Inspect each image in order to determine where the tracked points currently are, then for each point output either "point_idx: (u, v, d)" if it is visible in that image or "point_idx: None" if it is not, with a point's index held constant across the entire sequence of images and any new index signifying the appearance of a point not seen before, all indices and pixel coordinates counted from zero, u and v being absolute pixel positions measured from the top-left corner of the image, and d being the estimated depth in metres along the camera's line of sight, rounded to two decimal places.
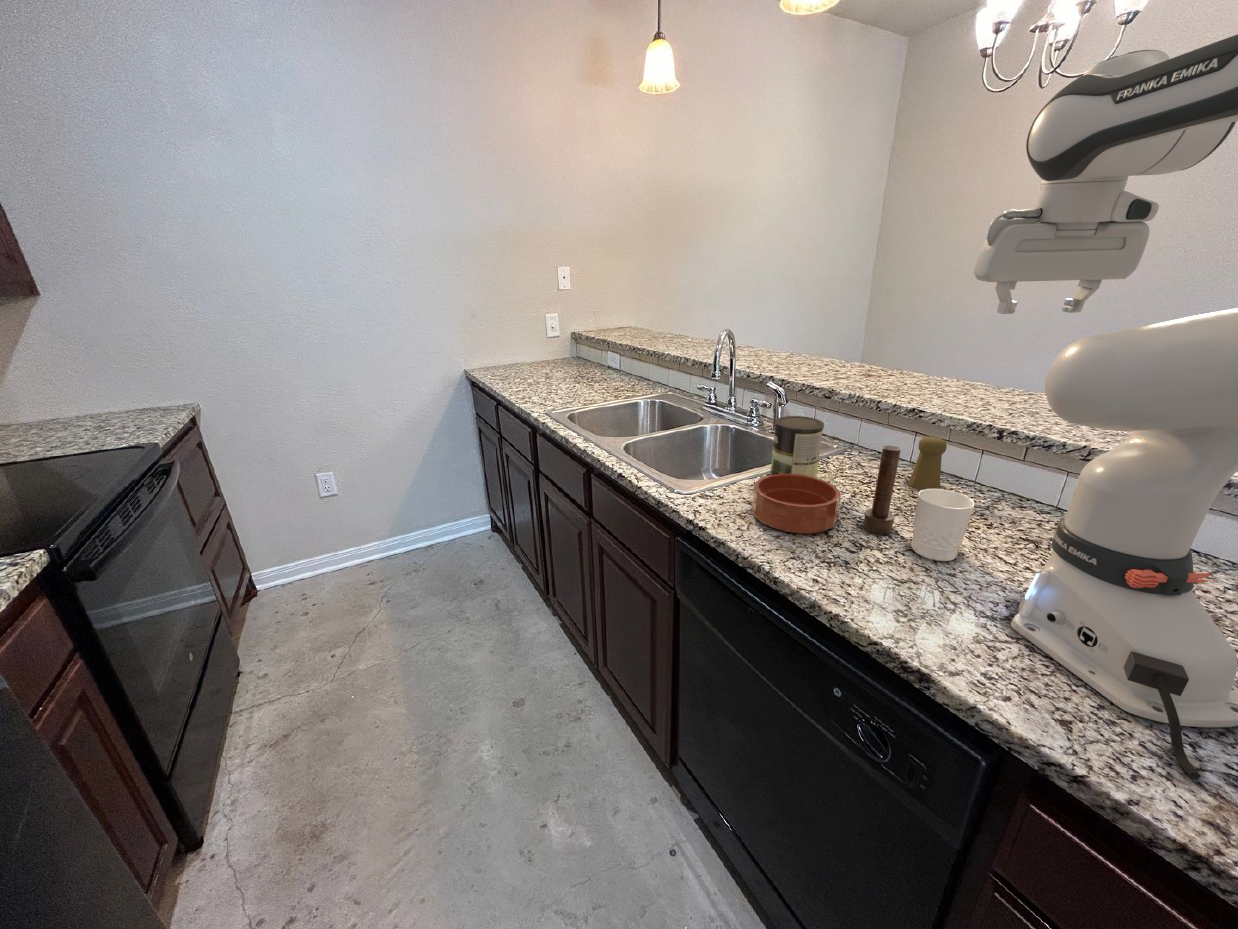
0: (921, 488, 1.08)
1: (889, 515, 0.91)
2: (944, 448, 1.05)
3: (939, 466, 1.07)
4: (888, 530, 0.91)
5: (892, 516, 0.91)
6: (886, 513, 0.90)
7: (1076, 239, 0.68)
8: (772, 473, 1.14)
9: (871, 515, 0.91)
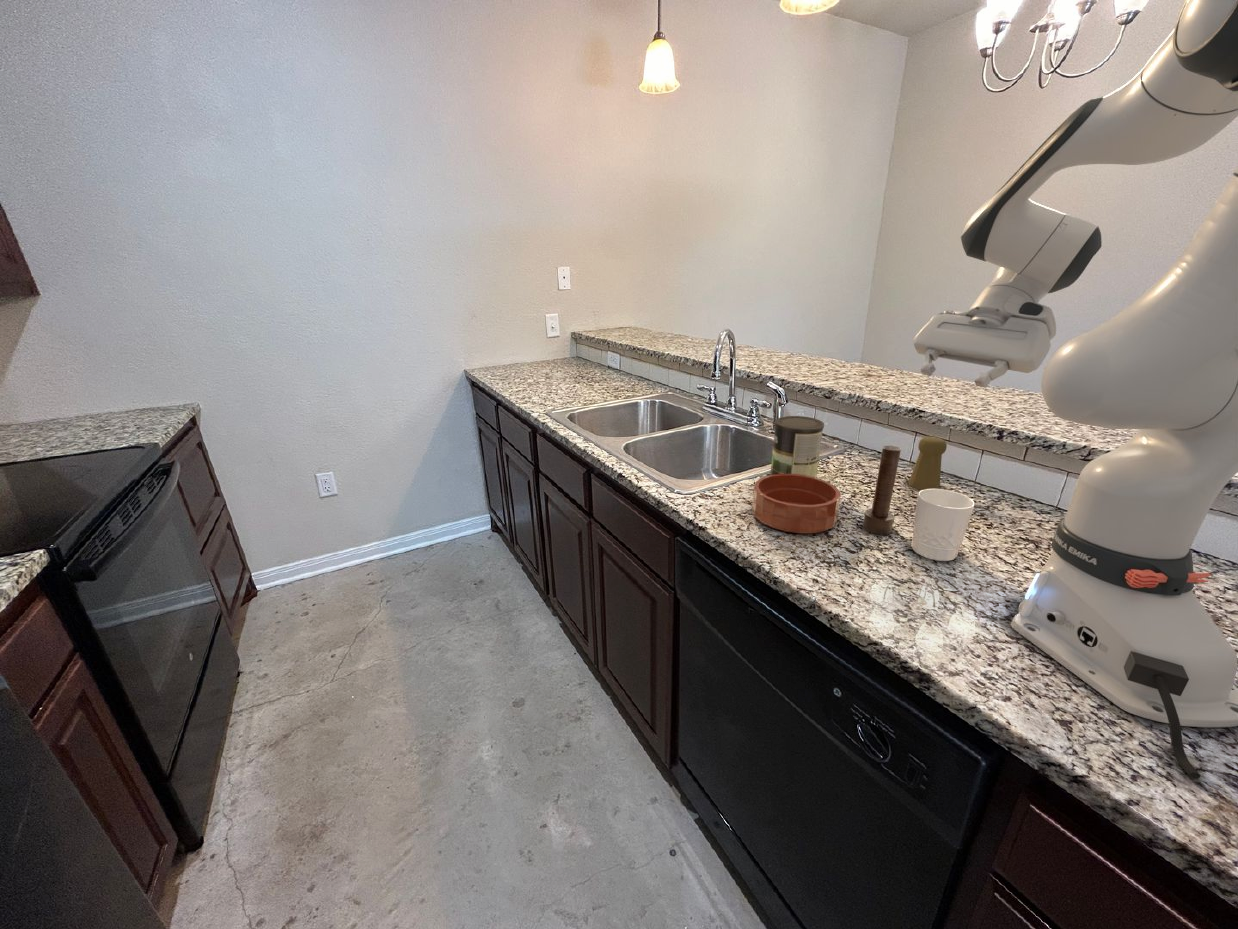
0: (921, 488, 1.08)
1: (889, 515, 0.91)
2: (944, 448, 1.05)
3: (939, 466, 1.07)
4: (888, 530, 0.91)
5: (892, 516, 0.91)
6: (886, 513, 0.90)
7: (986, 328, 0.86)
8: (772, 473, 1.14)
9: (871, 515, 0.91)
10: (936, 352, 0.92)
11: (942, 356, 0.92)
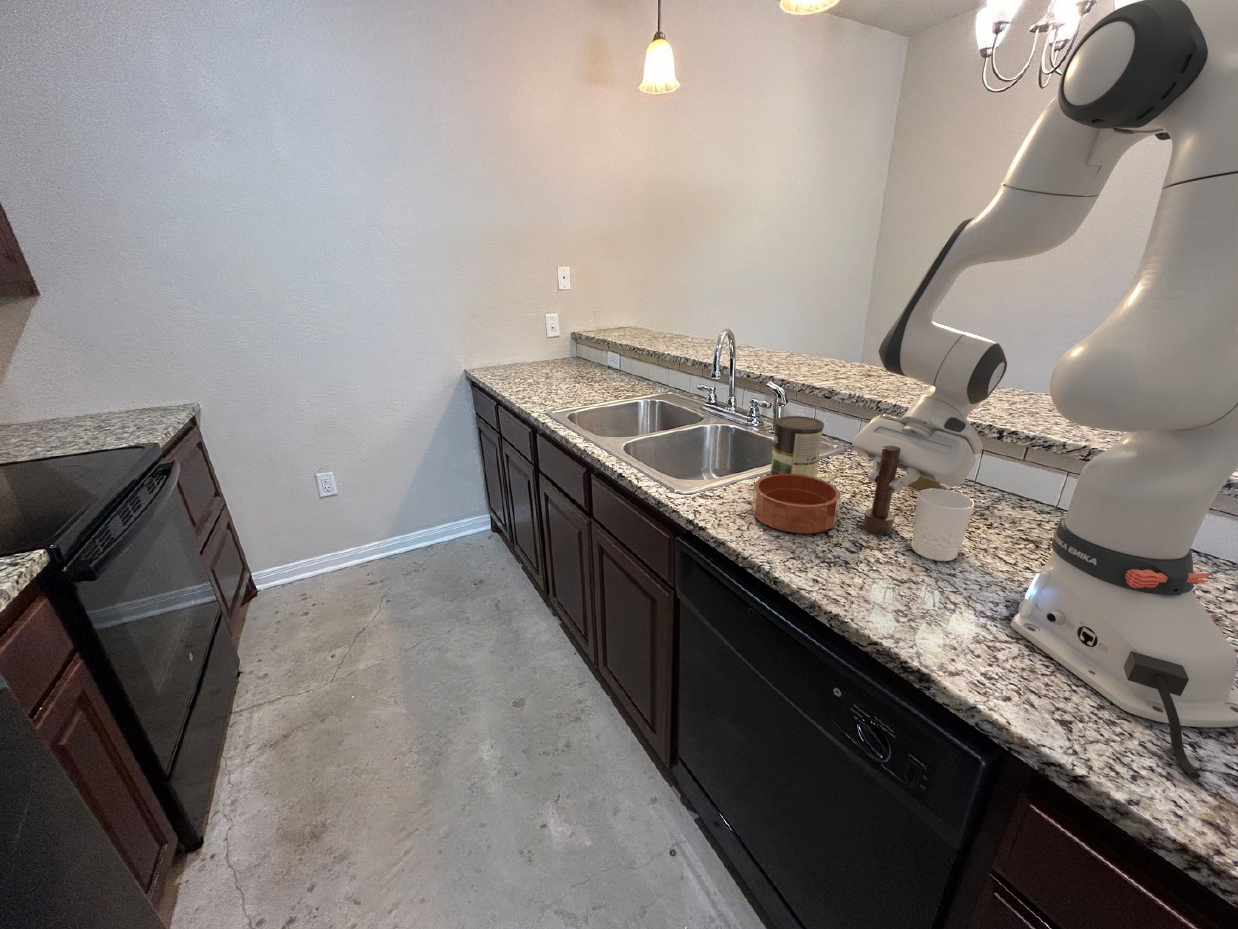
0: (921, 488, 1.08)
1: (889, 515, 0.91)
2: None
3: None
4: (888, 530, 0.91)
5: (892, 516, 0.91)
6: (886, 513, 0.90)
7: (916, 438, 0.88)
8: (772, 473, 1.14)
9: (871, 515, 0.91)
10: None
11: None
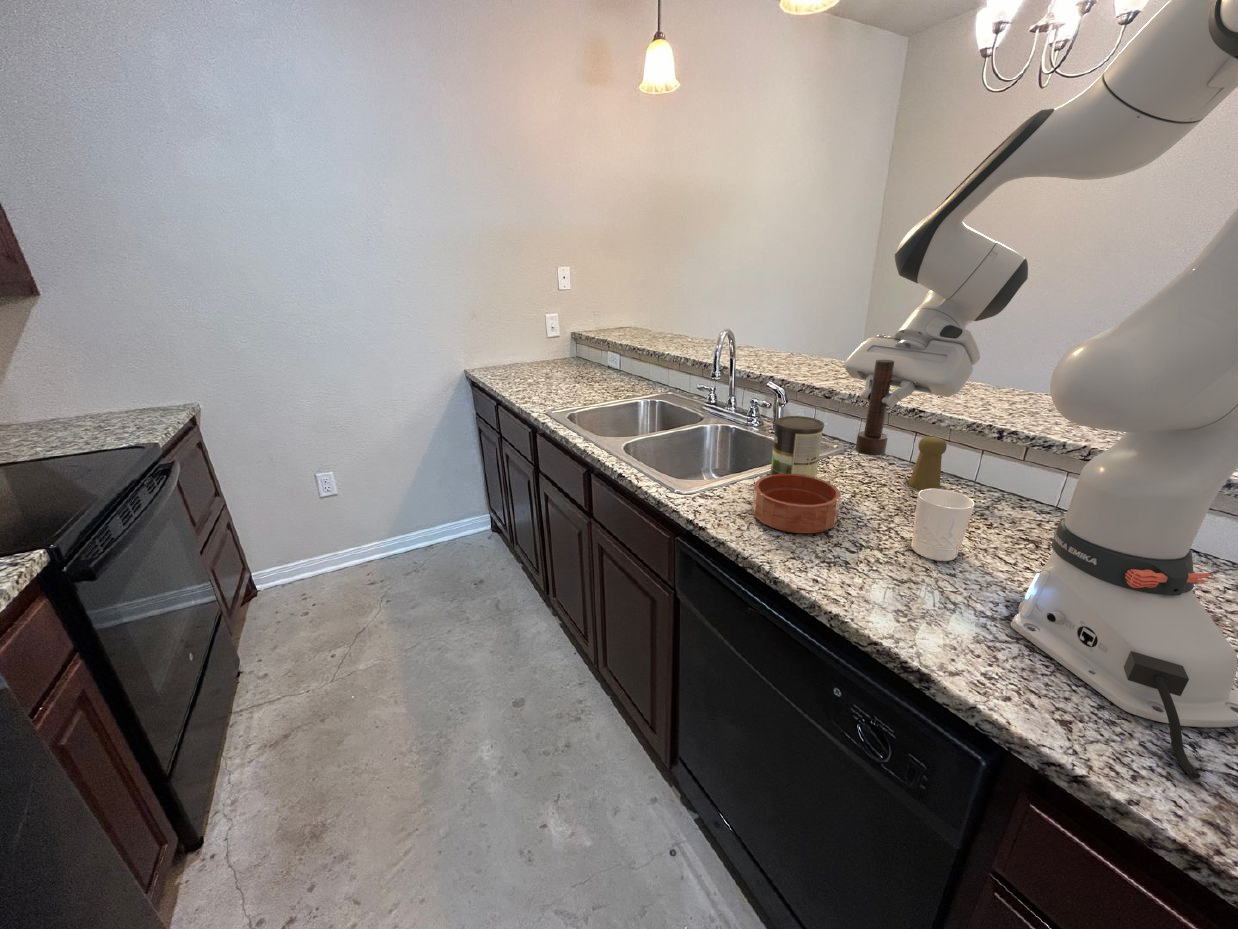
0: (921, 488, 1.08)
1: (883, 435, 0.87)
2: (944, 448, 1.05)
3: (939, 466, 1.07)
4: (881, 450, 0.86)
5: (886, 436, 0.87)
6: (879, 432, 0.86)
7: (911, 351, 0.84)
8: (772, 473, 1.14)
9: (864, 435, 0.87)
10: None
11: None
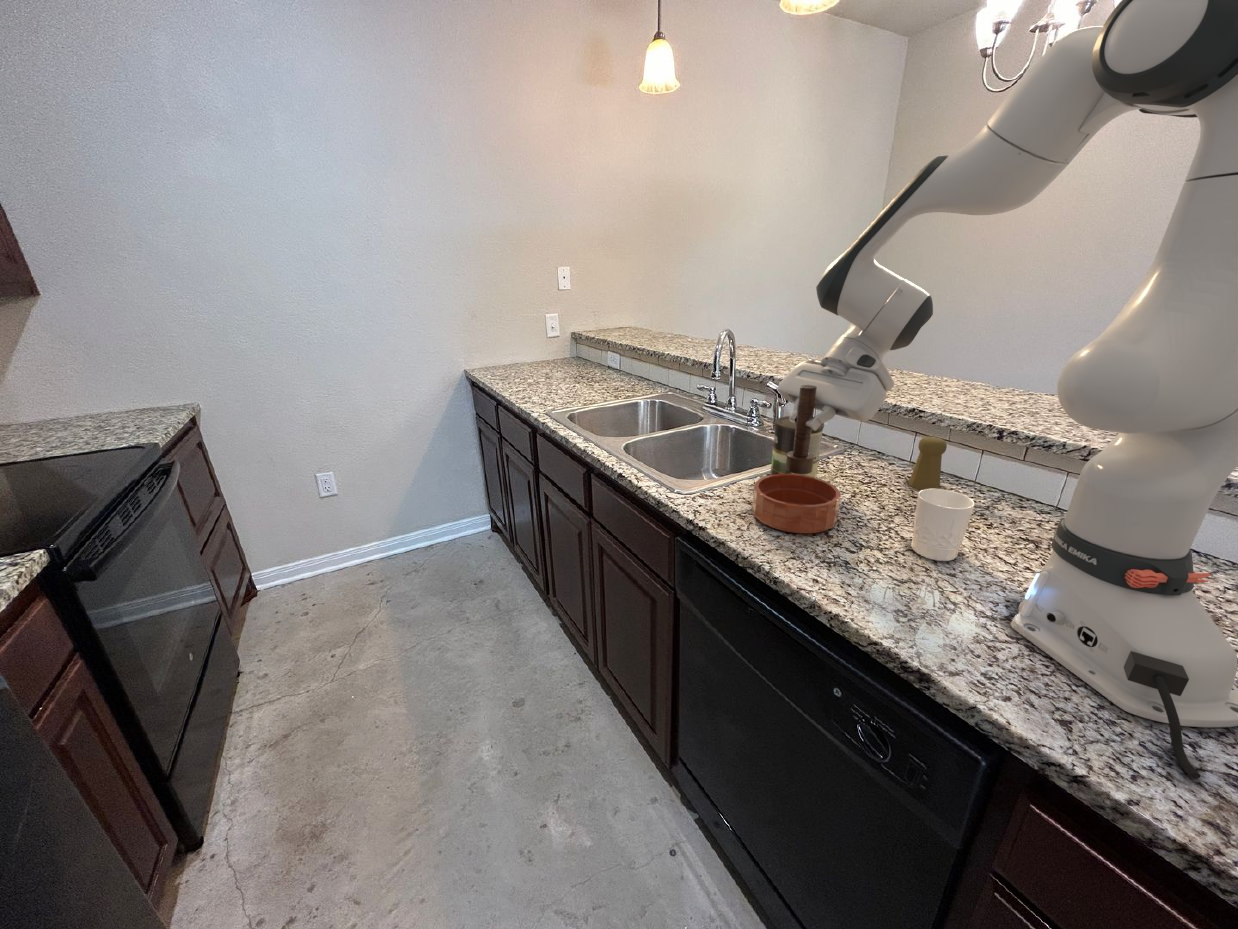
0: (921, 488, 1.08)
1: (810, 455, 0.93)
2: (944, 448, 1.05)
3: (939, 466, 1.07)
4: (808, 469, 0.92)
5: (812, 456, 0.93)
6: (806, 452, 0.92)
7: (833, 378, 0.90)
8: (772, 473, 1.14)
9: (792, 455, 0.93)
10: None
11: None
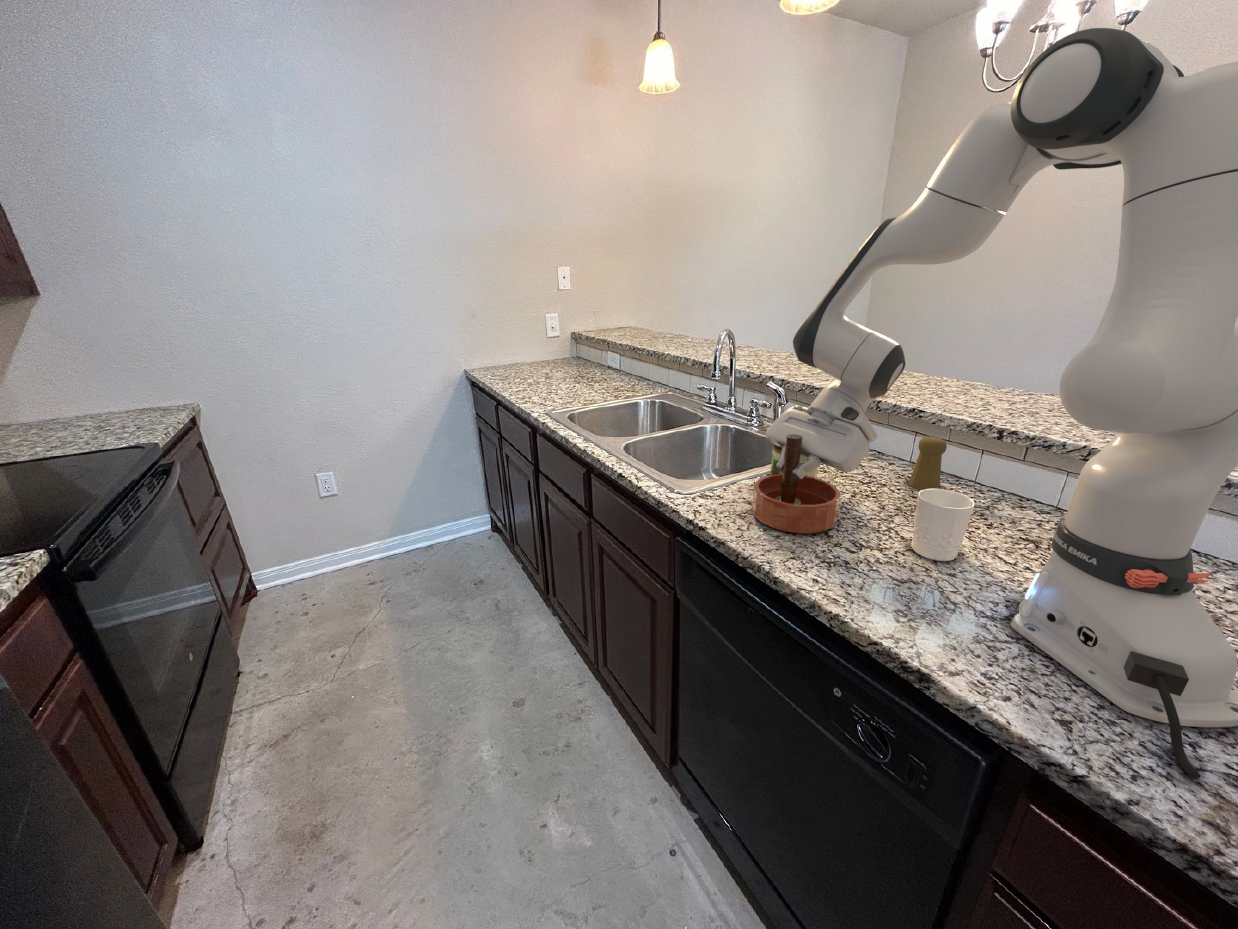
0: (921, 488, 1.08)
1: (797, 501, 0.96)
2: (944, 448, 1.05)
3: (939, 466, 1.07)
4: None
5: (799, 502, 0.95)
6: (792, 499, 0.95)
7: (819, 427, 0.93)
8: (772, 473, 1.14)
9: None
10: None
11: None
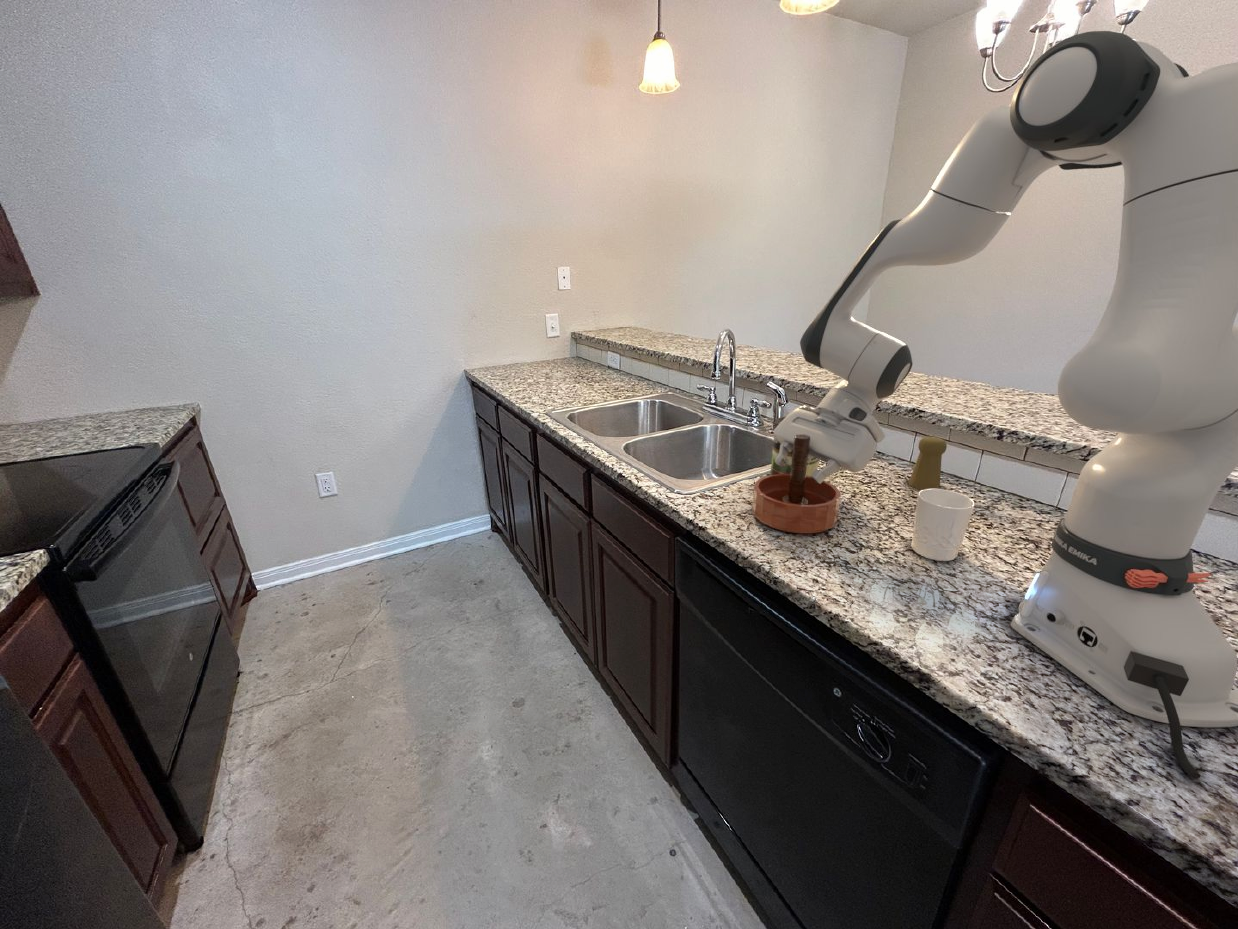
0: (921, 488, 1.08)
1: (804, 501, 0.96)
2: (944, 448, 1.05)
3: (939, 466, 1.07)
4: None
5: (806, 501, 0.96)
6: (800, 498, 0.95)
7: (827, 427, 0.93)
8: (772, 473, 1.14)
9: (787, 501, 0.97)
10: (789, 445, 0.99)
11: None
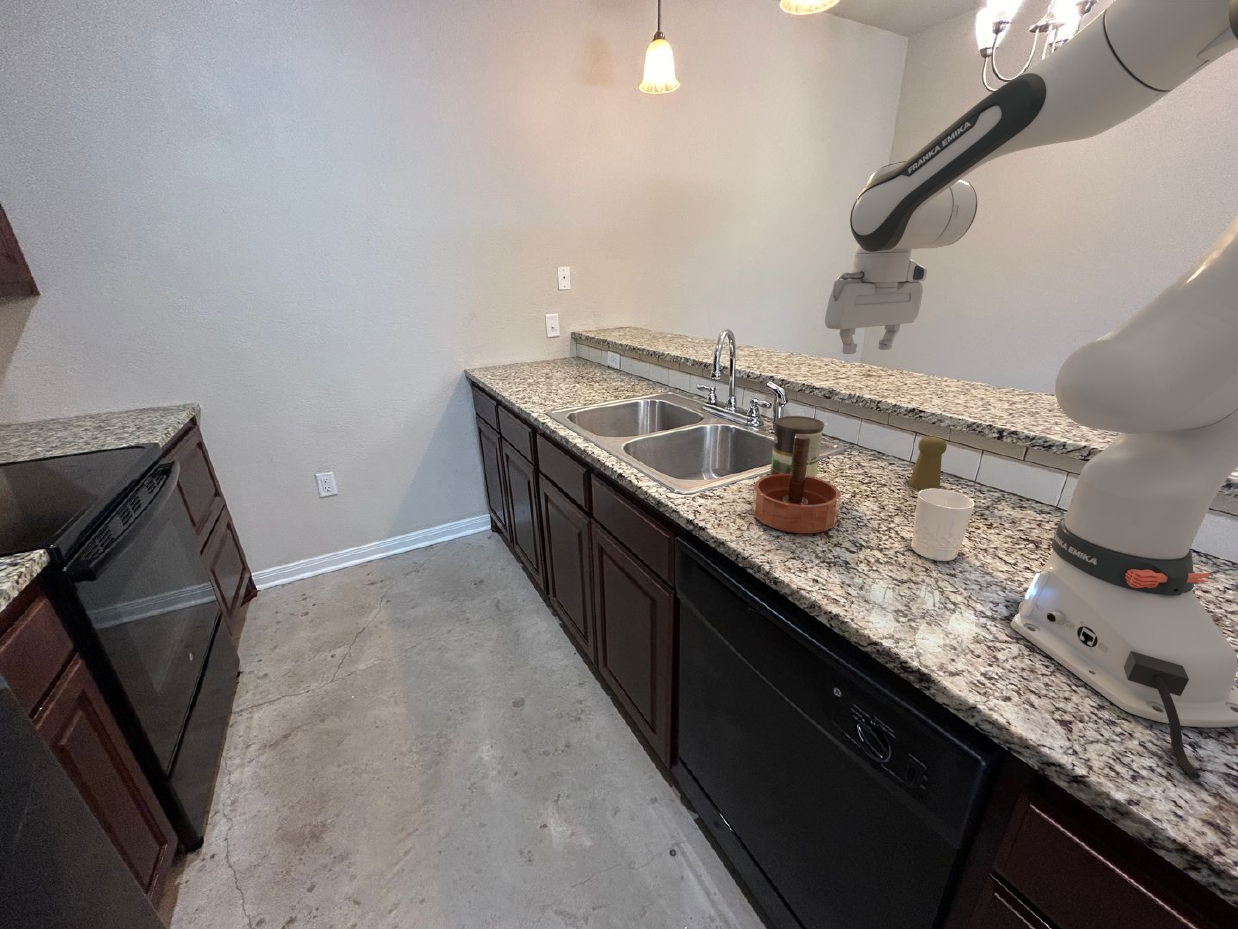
0: (921, 488, 1.08)
1: (804, 501, 0.96)
2: (944, 448, 1.05)
3: (939, 466, 1.07)
4: None
5: (806, 501, 0.96)
6: (800, 498, 0.95)
7: (885, 294, 0.87)
8: (772, 473, 1.14)
9: (787, 501, 0.97)
10: None
11: None
